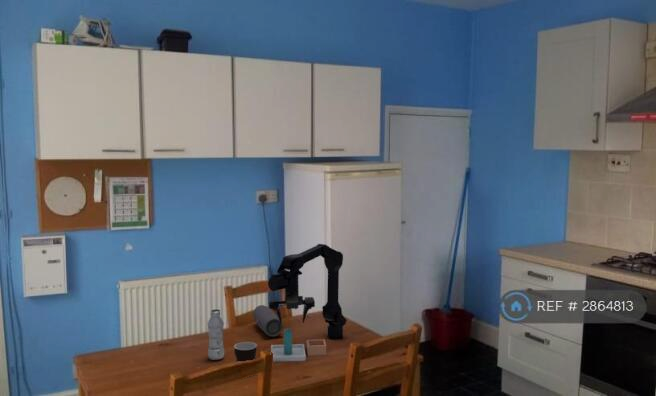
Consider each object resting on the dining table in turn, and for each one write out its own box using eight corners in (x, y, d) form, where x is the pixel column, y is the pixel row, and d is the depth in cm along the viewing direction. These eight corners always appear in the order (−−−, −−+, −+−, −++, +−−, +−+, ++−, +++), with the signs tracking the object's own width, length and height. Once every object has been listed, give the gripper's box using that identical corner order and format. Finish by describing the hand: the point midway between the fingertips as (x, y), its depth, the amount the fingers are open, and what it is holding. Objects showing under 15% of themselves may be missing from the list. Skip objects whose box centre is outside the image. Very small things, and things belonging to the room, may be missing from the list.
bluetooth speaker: (251, 325, 262) (251, 304, 261) (270, 323, 266) (270, 303, 265) (263, 340, 241) (263, 318, 240) (283, 338, 244) (283, 316, 244)
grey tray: (303, 348, 232) (303, 344, 232) (305, 360, 218) (305, 356, 218) (271, 349, 231) (270, 345, 230) (270, 361, 217) (270, 357, 217)
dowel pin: (291, 351, 226) (292, 328, 225) (292, 354, 223) (292, 331, 222) (283, 352, 226) (283, 328, 225) (283, 355, 222) (283, 331, 222)
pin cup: (324, 348, 232) (324, 339, 231) (326, 355, 224) (326, 345, 224) (306, 349, 231) (306, 339, 231) (307, 355, 223) (307, 346, 223)
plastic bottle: (227, 356, 222) (226, 309, 220) (218, 363, 215) (218, 313, 214) (213, 354, 224) (212, 307, 222) (204, 360, 218) (203, 312, 216)
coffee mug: (252, 376, 202) (252, 350, 202) (230, 374, 204) (230, 349, 203) (262, 364, 214) (262, 340, 213) (241, 363, 216) (241, 338, 215)
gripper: (268, 292, 216) (269, 330, 218) (315, 290, 218) (316, 328, 219) (269, 285, 227) (269, 321, 229) (313, 283, 229) (313, 319, 230)
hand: (292, 322), depth 226 cm, fingers open, 9 cm apart
